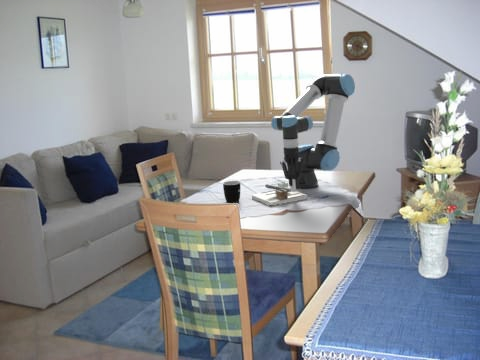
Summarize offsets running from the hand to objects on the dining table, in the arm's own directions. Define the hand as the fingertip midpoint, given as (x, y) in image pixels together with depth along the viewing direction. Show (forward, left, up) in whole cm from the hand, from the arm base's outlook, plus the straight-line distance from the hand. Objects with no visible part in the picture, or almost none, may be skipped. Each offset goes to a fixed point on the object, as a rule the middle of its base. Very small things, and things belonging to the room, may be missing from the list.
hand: (293, 191), depth 290 cm
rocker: (+4, -7, +1) cm, 9 cm away
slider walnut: (+7, 0, -3) cm, 7 cm away
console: (+4, -7, -5) cm, 9 cm away
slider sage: (-3, -14, -2) cm, 14 cm away
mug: (+25, -19, -5) cm, 32 cm away
